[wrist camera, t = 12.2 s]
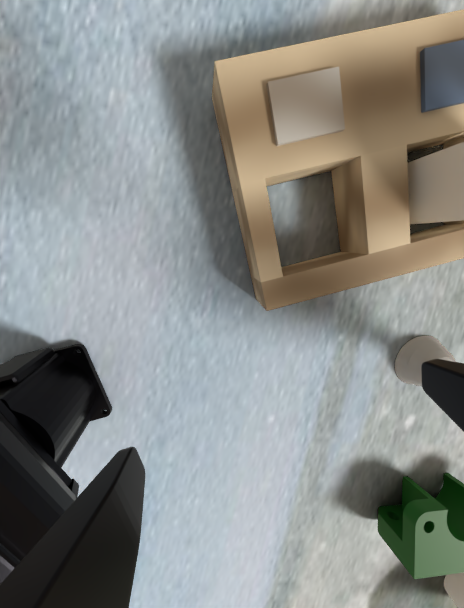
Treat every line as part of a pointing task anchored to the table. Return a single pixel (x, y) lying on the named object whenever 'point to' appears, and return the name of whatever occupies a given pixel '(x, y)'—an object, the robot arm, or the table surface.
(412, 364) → the chalice
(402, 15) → the table surface
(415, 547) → the clamp
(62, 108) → the table surface
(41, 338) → the table surface
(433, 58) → the socket board
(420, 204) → the plug
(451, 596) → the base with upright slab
